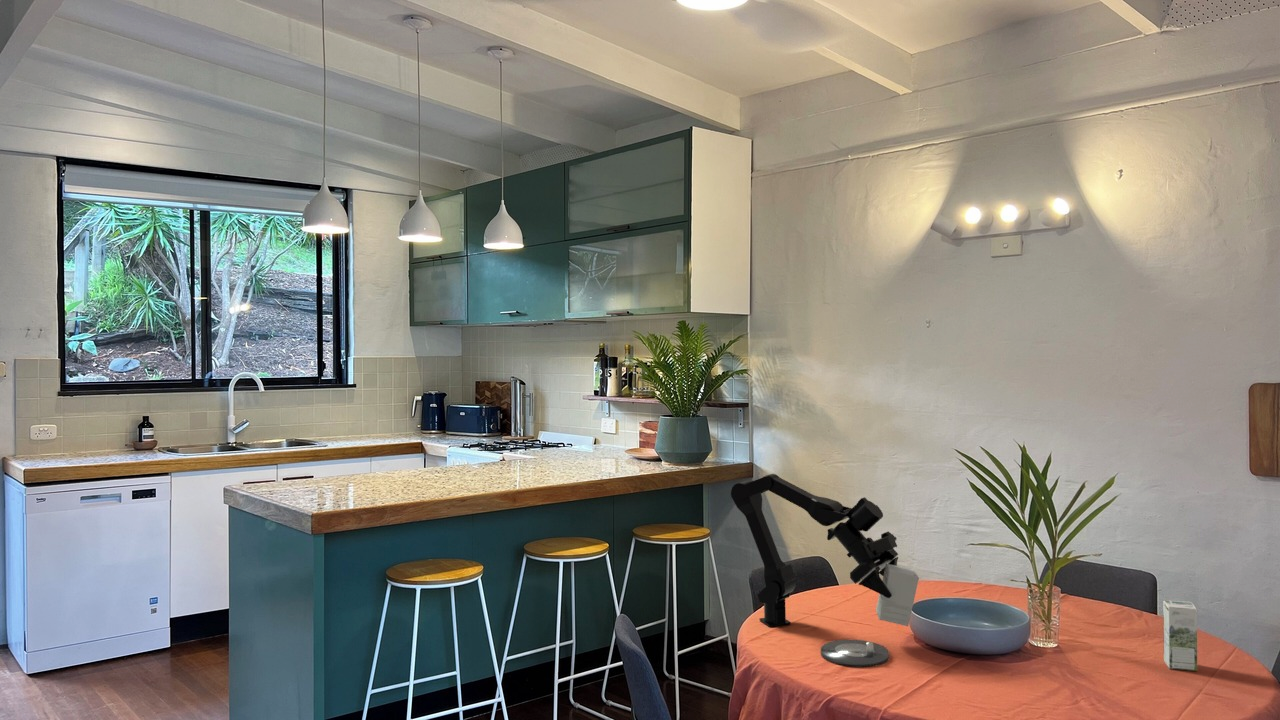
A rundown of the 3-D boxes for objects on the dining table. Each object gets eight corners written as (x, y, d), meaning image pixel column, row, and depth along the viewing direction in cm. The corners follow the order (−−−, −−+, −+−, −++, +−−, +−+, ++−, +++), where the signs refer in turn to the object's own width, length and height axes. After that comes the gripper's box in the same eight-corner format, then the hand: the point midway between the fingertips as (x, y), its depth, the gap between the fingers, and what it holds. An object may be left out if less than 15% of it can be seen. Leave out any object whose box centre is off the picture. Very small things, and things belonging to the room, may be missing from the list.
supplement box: (904, 617, 227) (915, 569, 226) (908, 627, 220) (919, 577, 219) (875, 610, 228) (885, 562, 227) (878, 619, 221) (889, 570, 220)
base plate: (807, 651, 220) (806, 633, 220) (856, 640, 228) (855, 622, 228) (852, 671, 206) (852, 652, 206) (903, 658, 214) (903, 639, 214)
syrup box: (1191, 663, 207) (1190, 600, 207) (1198, 672, 202) (1197, 607, 201) (1163, 660, 209) (1162, 598, 209) (1169, 669, 204) (1168, 605, 203)
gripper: (861, 529, 219) (906, 581, 212) (890, 516, 234) (932, 565, 227) (831, 557, 223) (874, 609, 217) (861, 543, 238) (902, 591, 232)
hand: (897, 592), depth 223 cm, fingers closed on supplement box, 9 cm apart
